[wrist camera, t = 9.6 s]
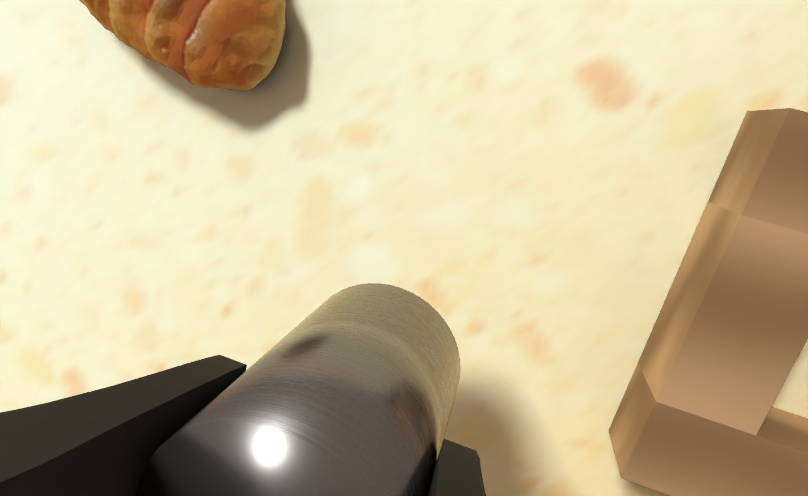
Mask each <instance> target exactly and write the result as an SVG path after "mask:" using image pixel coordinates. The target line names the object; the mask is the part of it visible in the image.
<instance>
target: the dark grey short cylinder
mask: <svg viewBox="0 0 808 496" xmlns="http://www.w3.org/2000/svg"><path fill="white" fill-rule="evenodd" d="M459 377H460V357H459V352H458V347H457V344H456V341H455V338H454V336H453V334H452V332H451V330H450V328H449V327H448V325H447V324H446V322H445V321H444V319H443V318H442V317H441V316H440V314H439V313H438V312H437V311H436V310H435V309H434V308H433V307H432V306H431V305H430V304H428V303H427V302H426V301H424V300H423V299H421V298H420V297H418V296H417V295H415V294H413V293H411V292H409V291H407V290H404V289H402V288H399V287H395V286H391V285H386V284H361V285H356V286H352V287H349V288H346V289H344V290H342V291H339V292H338V293H336V294H335V295H333V296H331V297H330V298H329V299H328V300H327V301H325V302H324V303H323V304H322V305H321V306H320V307H319V308H317V309H316V310H315V311H314V312H313V313H312V314H311V315H309V316H308V317H307V318H306V319H305V320H304V321H303V322H301V323H300V324H299V325H298V326H297V327H296V328H295V329H293V330H292V331H291V332H290V333H289V334H288V335H287V336H285V337H284V338H283V339H282V340H281V341H280V342H279V343H277V344H276V345H275V346H274V347H273V348H272V349H271V350H269V351H268V352H267V353H266V354H265V355H264V356H263V357H261V358H260V359H259V360H258V361H257V362H256V363H255V364H253V365H252V366H251V367H250V368H249V369H248V370H247V371H245V372H244V373H243V374H242V375H241V376H240V377H239V378H238V379H236V380H235V381H234V382H233V383H232V384H231V385H230V386H228V387H227V388H226V389H225V390H224V391H223V392H222V393H220V394H219V395H218V396H217V397H216V398H215V399H214V400H212V401H211V402H210V403H209V404H208V405H207V406H206V407H204V408H203V409H202V410H201V411H200V412H199V413H198V414H196V415H195V416H194V417H193V418H192V419H191V420H190V421H188V422H187V423H186V424H185V425H184V426H183V427H182V428H180V429H179V430H178V431H177V432H176V433H175V434H174V435H172V436H171V437H170V438H169V439H168V440H167V441H166V442H164V443H163V444H162V445H161V446H160V447H159V448H158V449H157V450H156V451H155V453H154V454H153V455H152V456H151V457H150V459H149V460H148V462H147V464H146V466H145V467H144V469H143V471H142V474H141V477H140V479H139V482H138V486H137V491H136V496H427V495H428V491H429V487H430V484H431V480H432V476H433V473H434V469H435V465H436V462H437V458H438V455H439V452H440V449H441V445H442V441H443V438H444V434H445V430H446V427H447V423H448V419H449V416H450V412H451V408H452V405H453V401H454V397H455V394H456V390H457V386H458V382H459Z"/></svg>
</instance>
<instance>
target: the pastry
mask: <svg viewBox="0 0 808 496" xmlns="http://www.w3.org/2000/svg"><path fill="white" fill-rule="evenodd" d="M79 1H81V2H82V3H83V4H84V5H85V6H86V7H87V8H88V10H89V11H90V13H91V14H92V15H93V16H94V17H95V18H96V19H97V20H98V21H99V22H100V23H101V24H102V25H103V27H104V28H105V29H107V30H109V31H111V32H113V33H114V34H115V35H116V37H117V38H118V39H119V40H120V41H122V42H123V43H125V44H127V45H129V46H131V47H132V48H134V49H137V50H138V51H139V52H140V53H141V54H143V55H144V56H145V57H146V58H148V59H151V60H153V61H156V62H159V63H161V64H162V65H164V66H167V67H169V68H171V69H173V70H174V71H176V72H177V73H179V74H180V75H182V76H183V77H184V78H186V79H187V80H188V81H189V82H190V83H191V84H193V85H195V86H198V87H223V88H227V89H234V90H240V91H246V90H250V89H253V88H254V87H255V86H257V85H258V84H259V83H260V82H261V81H262V80H263V79H264V78H265V77H266V76H267V75H268V74H269V73H270V72H271V70H272V69H273V67H274V66H275V63H276V61H277V59H278V56H279V53H280V50H281V47H282V43H283V39H284V34H285V29H286V22H285V9H286V1H285V0H79Z"/></svg>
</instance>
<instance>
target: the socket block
mask: <svg viewBox="0 0 808 496" xmlns="http://www.w3.org/2000/svg"><path fill="white" fill-rule="evenodd" d="M807 339H808V112H804V111H800V110H795V109H791V108H787V109H773V110H759V111H747V113H746V116H745V118H744V120H743V123H742V125H741V127H740V130H739V132H738V134H737V136H736V139H735V141H734V143H733V146H732V148H731V150H730V153H729V155H728V157H727V159H726V162H725V164H724V166H723V169H722V171H721V173H720V176H719V178H718V180H717V182H716V185H715V187H714V189H713V192H712V194H711V196H710V199H709V201H708V203H707V206H706V208H705V210H704V212H703V215H702V217H701V219H700V222H699V224H698V226H697V229H696V231H695V233H694V235H693V238H692V240H691V242H690V245H689V247H688V249H687V252H686V254H685V256H684V258H683V261H682V263H681V265H680V268H679V270H678V272H677V275H676V277H675V279H674V281H673V284H672V286H671V288H670V291H669V293H668V295H667V298H666V300H665V302H664V305H663V307H662V309H661V311H660V314H659V316H658V318H657V321H656V323H655V325H654V328H653V330H652V332H651V334H650V337H649V339H648V341H647V344H646V346H645V348H644V351H643V353H642V355H641V357H640V360H639V362H638V364H637V367H636V369H635V371H634V374H633V376H632V378H631V381H630V383H629V385H628V387H627V390H626V392H625V394H624V397H623V399H622V401H621V404H620V406H619V408H618V410H617V413H616V415H615V417H614V420H613V422H612V424H611V427H610V429H609V434H610V437H611V441H612V445H613V449H614V452H615V456H616V460H617V463H618V467H619V471H620V475H621V478H623V479H626V480H629V481H631V482H634V483H637V484H640V485H642V486H645V487H648V488H651V489H653V490H656V491H659V492H661V493H664V494H667V495H670V496H808V419H807V418H803V417H800V416H797V415H794V414H791V413H788V412H785V411H782V410H779V409H776V408H773V407H771V406H772V404H773V402H774V401H775V399H776V397H777V395H778V393H779V391H780V389H781V387H782V386H783V384H784V382H785V380H786V378H787V376H788V374H789V373H790V371H791V369H792V367H793V365H794V363H795V361H796V359H797V358H798V356H799V354H800V352H801V350H802V348H803V346H804V344H805V343H806V341H807Z"/></svg>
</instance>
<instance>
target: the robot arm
mask: <svg viewBox="0 0 808 496" xmlns="http://www.w3.org/2000/svg"><path fill="white" fill-rule="evenodd" d="M246 367H247V365H245V364H243V363H240V362H237V361H235V360H232V359H229V358H227V357H224V356H221V355H217V356H213V357H208V358H205V359H201V360H198V361H194V362H191V363H187V364H184V365H181V366H177V367H174V368H171V369H168V370H164V371H161V372H158V373H154V374H151V375H148V376H144V377H141V378H138V379H134V380H131V381H128V382H124V383H121V384H117V385H114V386H110V387H106V388H103V389H99V390H95V391H91V392H87V393H83V394H80V395H76V396H72V397H68V398H64V399H60V400H56V401H53V402H49V403H44V404H40V405H35V406H31V407H26V408H22V409H17V410H12V411H7V412H1V413H0V496H136V491H137V486H138V482H139V479H140V477H141V474H142V471H143V469H144V467H145V466H146V464H147V462H148V460H149V459H150V457H151V456H152V455H153V454H154V453H155V451H156V450H157V449H158V448H159V447H160V446H161V445H162V444H163V443H164V442H166V441H167V440H168V439H169V438H170V437H171V436H172V435H174V434H175V433H176V432H177V431H178V430H179V429H180V428H182V427H183V426H184V425H185V424H186V423H187V422H188V421H190V420H191V419H192V418H193V417H194V416H195V415H196V414H198V413H199V412H200V411H201V410H202V409H203V408H204V407H206V406H207V405H208V404H209V403H210V402H211V401H212V400H214V399H215V398H216V397H217V396H218V395H219V394H220V393H222V392H223V391H224V390H225V389H226V388H227V387H228V386H230V385H231V384H232V383H233V382H234V381H235V380H236V379H238V378H239V377H240V376H241V375H242V374H243V373H244V372H245V371H246ZM427 496H486V494H485V489H484V484H483V479H482V473H481V467H480V458H479V456H478V454H477V452H476V451H475V450H472V449H470V448H467V447H464V446H462V445H459V444H456V443H454V442H451V441H448V440H446V439H444V440H443V443H442V446H441V449H440V452H439V455H438V458H437V462H436V465H435V469H434V473H433V476H432V480H431V484H430V487H429V491H428V495H427Z"/></svg>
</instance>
